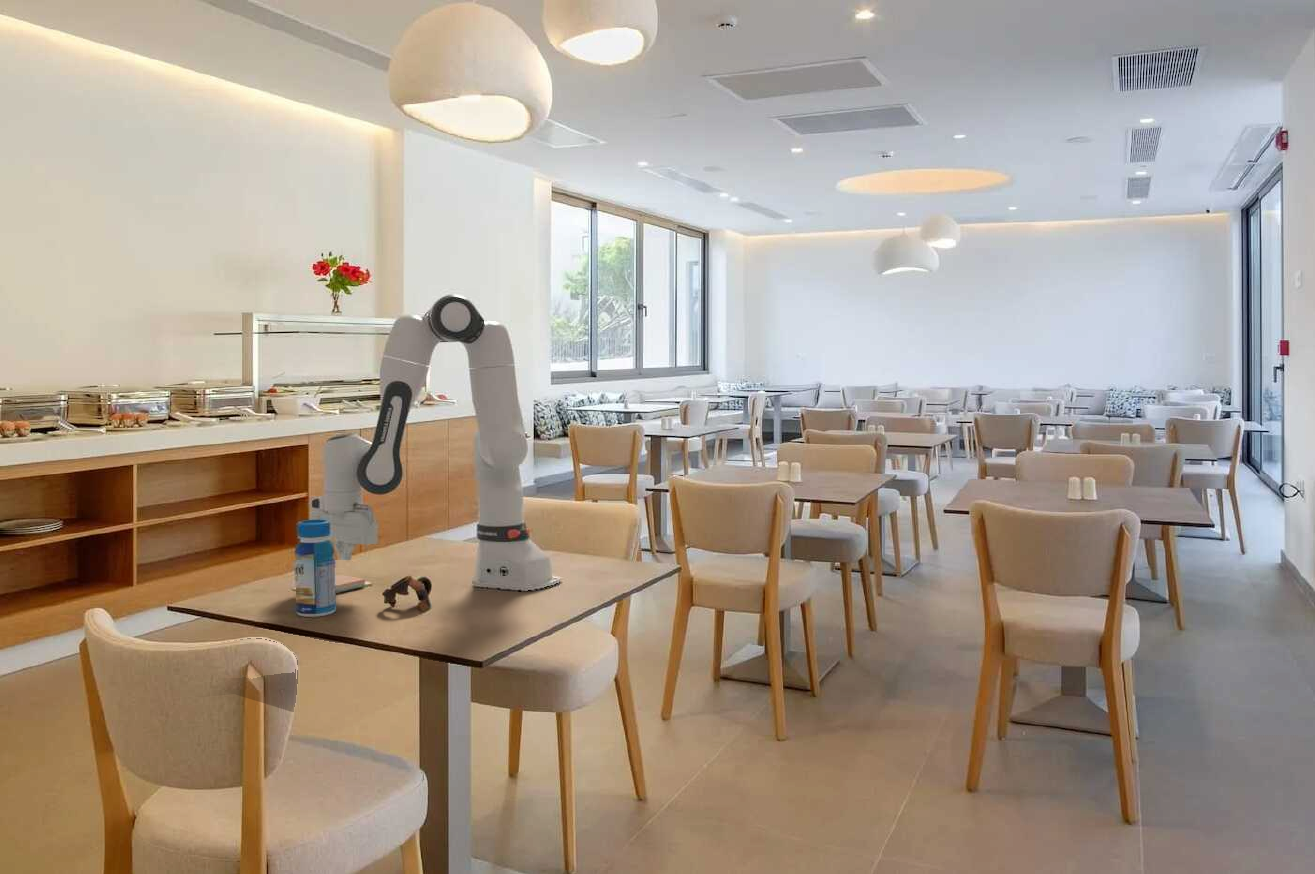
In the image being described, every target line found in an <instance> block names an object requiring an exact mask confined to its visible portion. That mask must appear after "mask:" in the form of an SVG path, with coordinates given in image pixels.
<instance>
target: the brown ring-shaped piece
mask: <svg viewBox="0 0 1315 874" xmlns="http://www.w3.org/2000/svg"><path fill="white" fill-rule="evenodd" d="M409 587H410V588H411V589H412V590H413V591H414V592H415V593H416V596H417V599H418V601H419V602H418V603H417V605H418V607H419V609H420V612H421V613H424V612H425V611H427V610H428V609H429V608H430V607H432V604H431V601H430V597H429V596H430V594H431V591H432V582H431V580H430V579H429V578H428V577H426V576H421V577H419V578H418V579H413V577H412V575H406V576H404V577H403V578H401V579H400V580H398V581H396V582H395V583H393V584H392V585H391V586H390V588H386V589H385V590H384V591H382V593H381V594H382V596H383V597H384V600H383V602H384V603H383V604H386V605H387V604H388V605H390V607H395V606H396V604H397V599H396V596H397V594H398V595H400V596H409V595H410V593H409V591H408V589H409Z"/></svg>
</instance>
